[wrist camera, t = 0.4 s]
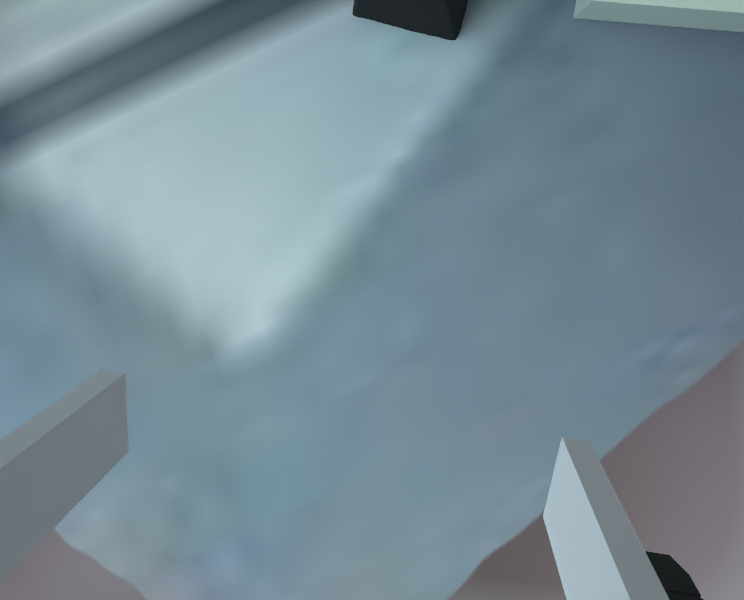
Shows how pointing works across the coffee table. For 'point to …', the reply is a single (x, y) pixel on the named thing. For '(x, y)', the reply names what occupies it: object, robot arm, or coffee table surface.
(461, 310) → the coffee table surface
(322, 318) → the coffee table surface
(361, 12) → the sculpture
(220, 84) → the coffee table surface
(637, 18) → the tote
